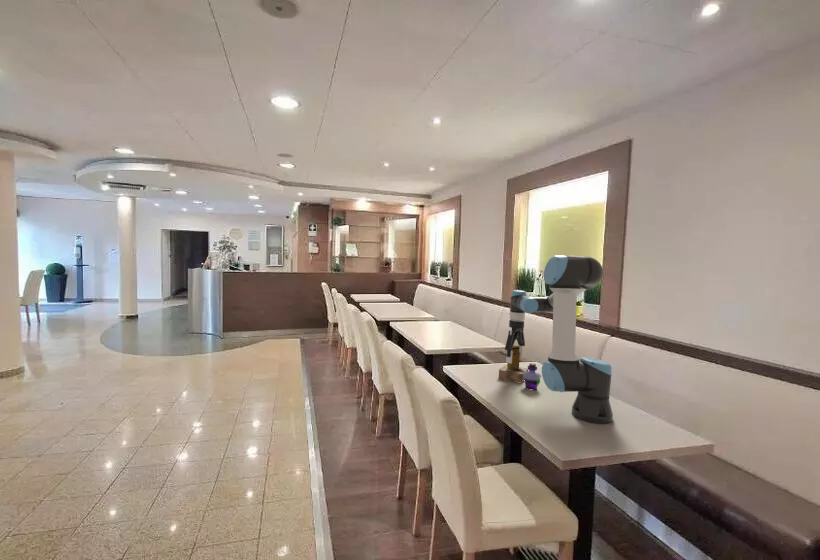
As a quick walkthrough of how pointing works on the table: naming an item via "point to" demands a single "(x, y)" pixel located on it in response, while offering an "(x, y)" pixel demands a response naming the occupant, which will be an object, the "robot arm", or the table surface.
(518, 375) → the walnut block
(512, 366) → the condiment
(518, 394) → the table surface
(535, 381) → the potion bottle
